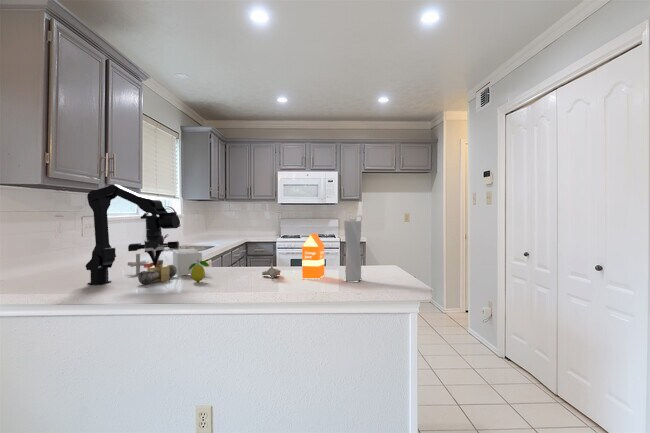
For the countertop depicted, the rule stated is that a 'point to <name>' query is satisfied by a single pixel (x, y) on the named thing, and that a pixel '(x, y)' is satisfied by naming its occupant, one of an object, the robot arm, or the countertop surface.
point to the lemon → (198, 271)
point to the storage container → (185, 260)
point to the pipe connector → (137, 263)
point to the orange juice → (313, 257)
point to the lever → (150, 264)
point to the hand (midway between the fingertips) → (155, 266)
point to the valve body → (157, 274)
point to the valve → (272, 272)
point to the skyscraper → (353, 249)
